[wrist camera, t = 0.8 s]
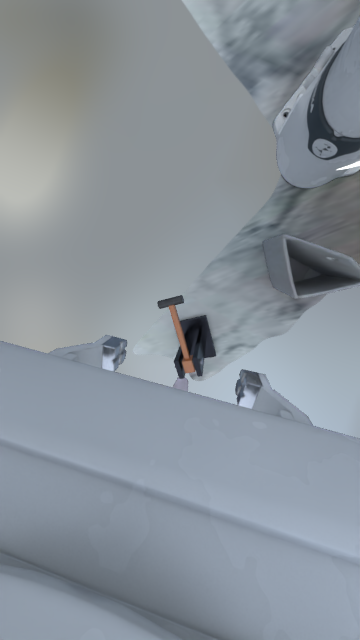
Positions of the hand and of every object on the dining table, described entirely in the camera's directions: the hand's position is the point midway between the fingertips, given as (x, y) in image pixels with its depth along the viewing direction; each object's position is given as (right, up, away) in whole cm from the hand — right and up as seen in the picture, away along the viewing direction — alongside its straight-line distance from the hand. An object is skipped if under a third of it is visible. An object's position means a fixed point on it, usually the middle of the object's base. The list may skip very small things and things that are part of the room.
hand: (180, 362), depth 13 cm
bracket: (+4, -2, +41) cm, 41 cm away
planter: (+25, +14, +32) cm, 43 cm away
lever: (0, 0, +27) cm, 27 cm away
